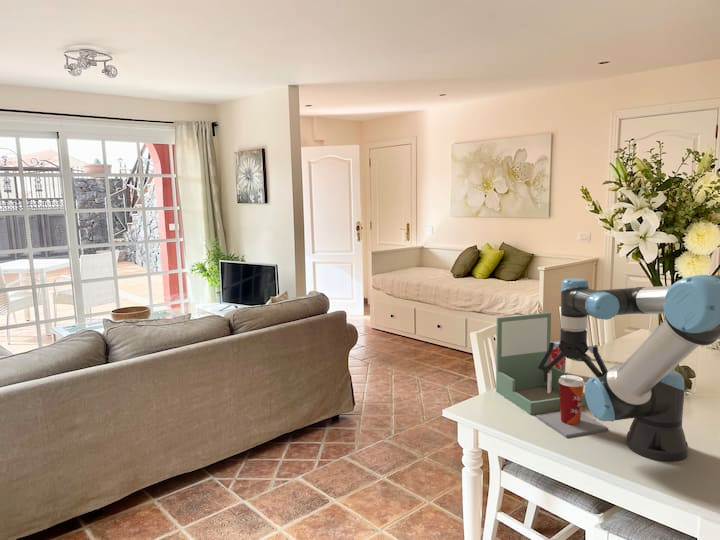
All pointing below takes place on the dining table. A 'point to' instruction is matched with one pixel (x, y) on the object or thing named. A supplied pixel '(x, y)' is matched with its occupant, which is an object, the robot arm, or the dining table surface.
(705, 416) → the dining table surface
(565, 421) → the paper cup
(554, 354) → the soda can
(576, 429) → the rubber mat
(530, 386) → the green display box
